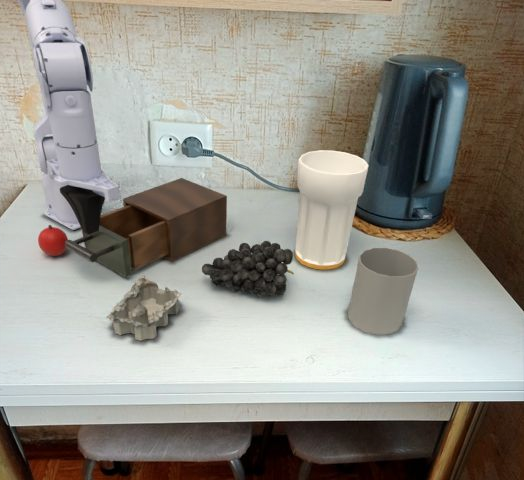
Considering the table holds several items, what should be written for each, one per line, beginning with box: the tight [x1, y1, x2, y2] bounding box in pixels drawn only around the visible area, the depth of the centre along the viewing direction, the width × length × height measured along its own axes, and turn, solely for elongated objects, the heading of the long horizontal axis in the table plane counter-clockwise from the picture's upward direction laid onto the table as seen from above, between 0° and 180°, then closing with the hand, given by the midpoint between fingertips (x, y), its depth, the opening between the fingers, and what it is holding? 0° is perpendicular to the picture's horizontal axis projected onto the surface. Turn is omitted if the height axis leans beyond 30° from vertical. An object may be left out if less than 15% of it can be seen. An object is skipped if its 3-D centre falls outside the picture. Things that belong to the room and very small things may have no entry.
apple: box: [37, 224, 69, 257], centre depth 87 cm, size 5×5×6 cm
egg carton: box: [105, 275, 182, 342], centre depth 74 cm, size 11×8×4 cm
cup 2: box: [347, 247, 419, 336], centre depth 76 cm, size 8×8×10 cm
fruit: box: [201, 240, 295, 298], centre depth 81 cm, size 9×8×15 cm
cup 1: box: [294, 149, 370, 271], centre depth 87 cm, size 11×11×17 cm
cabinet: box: [122, 177, 228, 263], centre depth 93 cm, size 14×12×8 cm
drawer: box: [65, 205, 169, 278], centre depth 86 cm, size 18×10×6 cm, turn 141°
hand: (91, 231), depth 80 cm, fingers closed
